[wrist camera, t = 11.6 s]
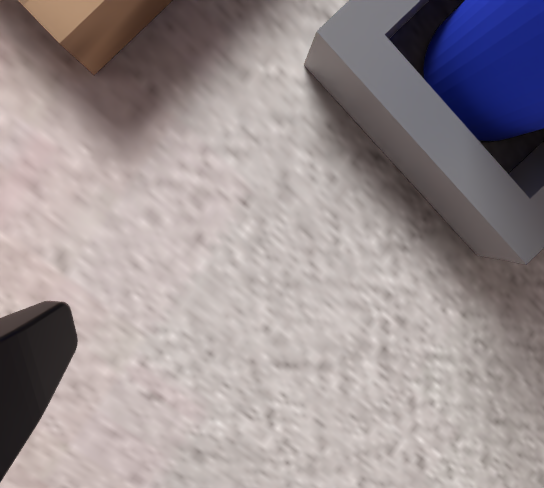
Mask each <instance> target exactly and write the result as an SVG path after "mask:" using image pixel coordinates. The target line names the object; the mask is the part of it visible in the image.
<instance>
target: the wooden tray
mask: <svg viewBox="0 0 544 488" xmlns="http://www.w3.org/2000/svg"><path fill="white" fill-rule="evenodd" d="M18 1H19V2H20V3H21V4H22V5H23V6H24V7H25V8H26V9H27V10H28V11H29V12H30V13H31V14H32V16H33V17H34V18H35V19H36V20H37V21H38V22H39V23H40V24H41V25H42V26H43V27H44V28H45V29H46V30H47V31H48V32H49V33H50V34H51V35H52V36H53V37H54V39H55V40H56V41H57V42H58V43H59V44H60V45H61V46H63V47H64V48H65V49H66V50H67V51H68V52H69V53H70V54H71V55H72V56H74V57H75V58H76V59H77V60H78V61H79V62H80V63H81V64H82V65H83V66H85V67H86V68H87V69H88V70H89V71H90V72H91V73H92V74H93V75H95V74H96V73H97V72H98V71H99V70H100V69H101V68H102V67H104V66H105V65H106V64H107V63H108V62H109V61H110V60H111V59H112V58H113V57H114V56H115V55H116V54H117V53H118V52H119V51H120V50H121V49H122V48H123V47H124V46H125V45H127V44H128V43H129V42H130V41H131V40H132V39H133V38H134V37H135V36H136V35H137V34H138V33H139V32H140V31H141V30H142V29H143V28H144V27H145V26H146V25H147V24H149V23H150V22H151V21H152V20H153V19H154V18H155V17H156V16H157V15H158V14H159V13H160V12H161V11H162V10H163V9H164V8H165V7H166V6H167V5H168V4H169V3H171V2H172V1H173V0H18Z"/></svg>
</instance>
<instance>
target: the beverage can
mask: <svg viewBox="0 0 544 488" xmlns="http://www.w3.org/2000/svg"><path fill="white" fill-rule="evenodd" d="M423 70H424V80H425V81H426V82H427V83H428V84H429V85H430V86H431V88H432V89H433V90H434V91H435V92H436V93H437V94H438V95H439V97H440V98H441V99H442V100H443V101H444V102H445V103H446V104H447V106H448V107H449V108H450V109H451V110H452V111H453V112H454V113H455V115H456V116H457V117H458V118H459V119H460V120H461V121H462V123H463V124H464V125H465V126H466V127H467V128H468V129H469V130H470V132H471V133H472V134H473V135H474V136H475V137H476V138H477V139H478V140H483V141H499V140H504V139H508V138H512V137H516V136H519V135H523V134H526V133H530V132H533V131H537V130H540V129H544V0H465V1H464V2H463V3H462V4H461V5H460V6H458V7H457V8H456V9H455V10H454V11H453V12H452V13H451V14H450V15H449V16H448V17H447V18H446V19H445V20H444V21H443V22H442V24H441V25H440V26H439V27H438V28H437V30H436V32H435V33H434V35H433V36H432V38H431V41H430V43H429V45H428V48H427V51H426V55H425V60H424V68H423Z"/></svg>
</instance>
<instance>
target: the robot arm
mask: <svg viewBox="0 0 544 488" xmlns="http://www.w3.org/2000/svg"><path fill="white" fill-rule="evenodd" d="M77 342H78V340H77V333H76V329H75V325H74V321H73V317H72V313H71V309H70V307H69V305H68V304H67V303H65V302H58V301H44V302H41V303H39V304H36V305H34V306H31V307H28V308H26V309H23V310H20V311H18V312H15V313H12V314H10V315H7V316H5V317H2V318H0V482H1V481H2V479H3V477H4V476H5V474H6V473H7V471H8V470H9V468H10V466H11V465H12V463H13V462H14V460H15V459H16V457H17V455H18V454H19V452H20V451H21V449H22V448H23V446H24V445H25V443H26V441H27V440H28V438H29V437H30V435H31V434H32V432H33V430H34V429H35V427H36V426H37V424H38V422H39V421H40V419H41V417H42V415H43V414H44V412H45V410H46V408H47V406H48V404H49V402H50V400H51V398H52V396H53V394H54V392H55V390H56V388H57V386H58V384H59V382H60V381H61V379H62V377H63V375H64V373H65V371H66V369H67V367H68V365H69V363H70V361H71V359H72V357H73V355H74V353H75V351H76V348H77Z"/></svg>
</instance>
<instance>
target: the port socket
mask: <svg viewBox="0 0 544 488" xmlns="http://www.w3.org/2000/svg"><path fill="white" fill-rule="evenodd" d="M428 1H429V0H349V1H348V2H347V3H346V4H345V5H344V6H343V7H342V8H341V9H340V10H339V11H338V12H337V13H335V14H334V15H333V16H332V17H331V18H330V19H329V20H328V21H327V22H326V23H325V24H324V25H323V26H322V27H321V28H320V29H319V30H318V31H317V32H316V34H315V37H314V40H313V42H312V45H311V47H310V50H309V53H308V55H307V58H306V60H305V63H304V66H305V67H306V68H307V69H308V70H309V71H310V72H311V73H312V74H313V75H314V77H315V78H316V79H317V80H318V81H319V82H320V83H321V84H322V85H323V86H324V88H325V89H326V90H327V91H328V92H329V93H330V94H331V95H332V96H333V97H334V99H335V100H336V101H337V102H338V103H339V104H340V105H341V106H342V107H343V108H344V110H345V111H346V112H347V113H348V114H349V115H350V116H351V117H352V118H353V119H354V121H355V122H356V123H357V124H358V125H359V126H360V127H361V128H362V129H363V130H364V132H365V133H366V134H367V135H368V136H369V137H370V138H371V139H372V140H373V141H374V143H375V144H376V145H377V146H378V147H379V148H380V149H381V150H382V151H383V153H384V154H385V155H386V156H387V157H388V158H389V159H390V160H391V161H392V162H393V164H394V165H395V166H396V167H397V168H398V169H399V170H400V171H401V172H402V173H403V175H404V176H405V177H406V178H407V179H408V180H409V181H410V182H411V183H412V184H413V186H414V187H415V188H416V189H417V190H418V191H419V192H420V193H421V194H422V195H423V197H424V198H425V199H426V200H427V201H428V202H429V203H430V204H431V205H432V206H433V208H434V209H435V210H436V211H437V212H438V213H439V214H440V215H441V216H442V217H443V219H444V220H445V221H446V222H447V223H448V224H449V225H450V226H451V227H452V228H453V230H454V231H455V232H456V233H457V234H458V235H459V236H460V237H461V238H462V239H463V241H464V242H465V243H466V244H467V245H468V246H469V247H470V248H471V249H472V250H473V252H474V253H475V254H476V255H477V256H483V257H488V258H494V259H499V260H505V261H510V262H516V263H521V264H527V263H528V262H530V261H531V260H532V259H533V258H534V257H535V256H536V255H537V254H538V253H539V252H540V251H541V250H542V249H543V248H544V141H543V142H542V143H541V144H540V145H539V146H538V147H537V148H536V149H535V150H533V151H532V152H531V153H530V154H529V155H528V156H527V157H526V158H525V159H524V160H523V161H522V162H521V163H520V164H519V165H518V166H517V167H516V168H514V169H513V170H512V171H511V172H510V173H509V174H508V173H507V172H506V171H505V170H504V169H503V168H502V167H501V165H500V164H499V163H498V162H497V161H496V160H495V159H494V158H493V156H492V155H491V154H490V153H489V152H488V151H487V150H486V148H485V147H484V146H483V145H482V144H481V143H480V142H479V141H478V139H477V138H476V137H475V136H474V135H473V134H472V133H471V132H470V130H469V129H468V128H467V127H466V126H465V125H464V124H463V123H462V121H461V120H460V119H459V118H458V117H457V116H456V115H455V113H454V112H453V111H452V110H451V109H450V108H449V107H448V106H447V104H446V103H445V102H444V101H443V100H442V99H441V98H440V97H439V95H438V94H437V93H436V92H435V91H434V90H433V89H432V88H431V86H430V85H429V84H428V83H427V82H426V81H425V80H424V79H423V77H422V76H421V75H420V74H419V73H418V72H417V71H416V69H415V68H414V67H413V66H412V65H411V64H410V63H409V62H408V60H407V59H406V58H405V57H404V56H403V55H402V54H401V53H400V51H399V50H398V49H397V48H396V47H395V46H394V45H393V44H392V42H391V41H390V40H389V38H390V37H391V36H393V35H394V34H395V33H396V32H397V31H398V30H399V29H400V28H401V27H402V26H403V25H404V24H405V23H406V22H407V21H408V20H409V19H410V18H411V17H412V16H414V15H415V14H416V13H417V12H418V11H419V10H420V9H421V8H422V7H423V6H424V5H425V4H426V3H427V2H428Z"/></svg>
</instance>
